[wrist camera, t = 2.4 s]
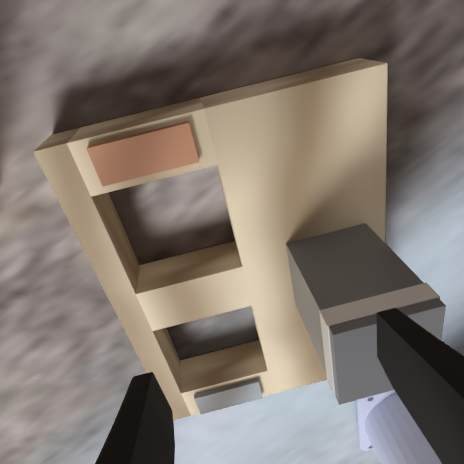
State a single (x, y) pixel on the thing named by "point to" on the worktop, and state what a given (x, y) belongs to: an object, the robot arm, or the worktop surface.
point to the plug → (355, 304)
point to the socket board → (240, 213)
